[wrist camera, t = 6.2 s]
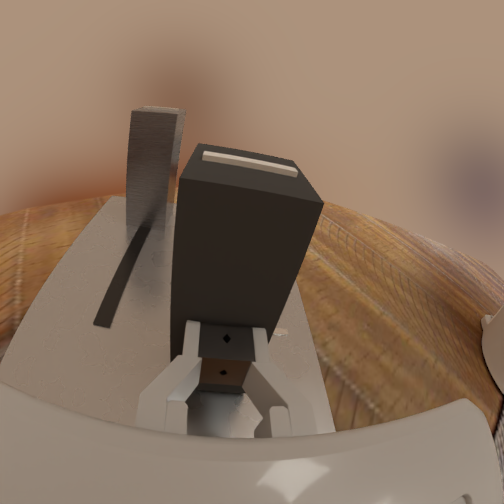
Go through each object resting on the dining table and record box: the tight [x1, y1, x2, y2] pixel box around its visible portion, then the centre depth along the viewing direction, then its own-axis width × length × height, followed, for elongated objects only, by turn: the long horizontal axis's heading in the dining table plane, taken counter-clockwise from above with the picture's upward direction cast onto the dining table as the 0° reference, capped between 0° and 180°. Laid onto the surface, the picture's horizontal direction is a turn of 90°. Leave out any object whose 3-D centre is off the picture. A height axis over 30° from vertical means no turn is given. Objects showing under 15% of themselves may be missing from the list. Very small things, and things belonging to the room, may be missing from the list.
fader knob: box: [170, 144, 324, 394], centre depth 12 cm, size 4×4×11 cm
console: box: [0, 106, 336, 438], centre depth 19 cm, size 20×28×13 cm
